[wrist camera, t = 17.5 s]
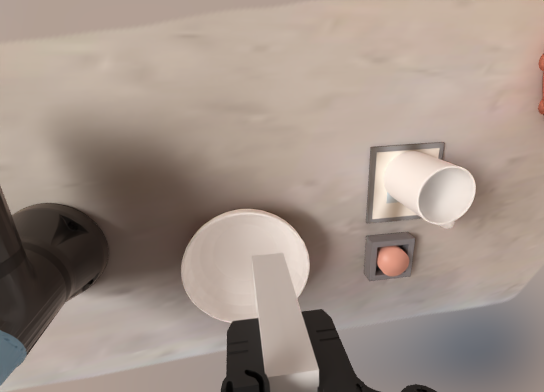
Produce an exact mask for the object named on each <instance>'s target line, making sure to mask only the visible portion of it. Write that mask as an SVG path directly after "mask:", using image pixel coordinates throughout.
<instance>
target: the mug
mask: <svg viewBox="0 0 544 392" xmlns="http://www.w3.org/2000/svg"><path fill="white" fill-rule="evenodd" d="M384 185H385V188H386V190H387V192H388V193H389V194H390V195H391V196H392V197H393V198H394V199H396V200H397V201H398V202H400V203H401V204H403V205H404V206H406V207H407V208H408V209H410V210H411V211H413V212H414V213H415V214H417V215H418V216H420V217H421V218H422V219H424V220H425V221H427V222H429V223H432V224H437V225H439V226H441V227H443V228H445V229H450V228H452V227H453V226H454V224H455V220H457V219H459V218H460V217H461V216H463V215H464V214H465V213H466V212H467V210H468V209H469V208H470V206H471V205H472V203H473V200H474V198H475V194H476V183H475V180H474V178H473V176H472V174H471V173H470V172H469V171H468V170H466V169H465V168H463V167H460V166H457V165H455V164H452V163H449V162H446V161H444V160H441V159H438V158H435V157H433V156H430V155H427V154H424V153H421V152H417V151H408V152H404V153H402V154H400V155H398V156H396V157H395V158H394V159H393V160H392V161H391V162H390V163H389V165H388V166H387V168H386V170H385V174H384Z"/></svg>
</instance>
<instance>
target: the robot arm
mask: <svg viewBox="0 0 544 392" xmlns="http://www.w3.org/2000/svg"><path fill="white" fill-rule="evenodd" d="M107 261H108V245H107V241H106V239H105V236H104V234H103V233H102V231H101V230H100V228H99V227H98V226H97V225H96V223H95V222H94V221H92V220H91V219H90V218H89V217H88V216H86V215H85V214H83V213H81V212H80V211H78V210H75V209H73V208H70V207H68V206H64V205H59V204H51V203H45V204H36V205H32V206H28V207H26V208H23V209H22V210H20V211H18V212H16V213H15V214H13V215H11V212H10V210H9V207H8V205H7V202H6V199H5V197H4V194H3V191H2V189H1V186H0V385H1V384H2V383H3V382H4V381H5V380H6V379H7V378H8V376H9V375H10V374H11V373H12V372H13V371H14V369H15V368H16V367H18V366H19V365H20V364H21V363H22V362H23V361H24V359H25V358H26V356H27V354H28V353H29V352H30V350H31V349H32V348H33V346H34V345H35V343H36V342H37V341H38V339H39V338H40V336H41V335H42V334H43V332H44V331H45V330H46V328H47V327H48V325H49V324H50V323H51V321H52V320H53V318H54V317H55V316H56V314H57V313H58V312H59V310H60V309H61V307H62V306H63V305H64V303H65V302H67V301H68V300H70V299H72V298H73V297H75V296H77V295H78V294H80V293H82V292H83V291H85V290H86V289H88V288H89V287H90V286H92V285H93V284H94V283H95V282H96V280H97V279H98V278H99V276H100V275H101V273H102V272H103V270H104V269H105V267H106V264H107ZM252 266H253V280H254V293H255V305H256V314H257V318H253V319H245V320H237V321H232V323H231V325H230V327H229V329H228V331H227V373H226V374H227V376H226V378H225V379H224V381H223V383H222V387H221V392H379V391H376V390H373V389H371V388H369V387H367V386H366V385H365V384H364V382H362V381H361V380H360V379H358V377H357V376H356V374H355V373H354V371H353V368H352V366H351V363H350V361H349V359H348V356H347V354H346V352H345V349H344V347H343V345H342V342H341V340H340V339H339V335H338V333H337V330H336V328H335V326H334V323H333V321H332V319H331V317H330V316H329V315H328V314H327V313H326V312H324V311H323V310H322V309H320V310H312V311H304V312H301V310H300V306H299V303H298V300H297V296H296V293H295V290H294V287H293V283H292V280H291V277H290V274H289V270H288V267H287V264H286V261H285V257H284V254H283V253H276V254H267V255H257V256H252ZM401 392H436V391H435V390H433V389H431V388H428V387H426V386H423V385H417V384H415V385H410V386H407V387H406V388H404V389H403V390H402V391H401Z"/></svg>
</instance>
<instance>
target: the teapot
mask: <svg viewBox="0 0 544 392" xmlns="http://www.w3.org/2000/svg"><path fill="white" fill-rule="evenodd" d="M539 68H540V69H541V70H542V71H544V54H543V55H542V56H541V58H540V60H539ZM538 110H539V112H540V113H541V114H544V73H543V99H542V100H541V102H540V104H539V107H538Z"/></svg>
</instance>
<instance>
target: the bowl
mask: <svg viewBox="0 0 544 392" xmlns="http://www.w3.org/2000/svg"><path fill="white" fill-rule="evenodd" d="M276 253H283V254H284V257H285V261H286V264H287V267H288V270H289V274H290V277H291V280H292V283H293V287H294V290H295V293H296V296H297V298H298V297H299V296H300V294H301V293H302V291H303V289H304V287H305V285H306V283H307V280H308V276H309V270H310V260H309V254H308V250H307V248H306V246H305V243H304V241H303V240H302V238H301V237H300V236H299V234H298V233H297V231H296V230H295V229H294V228H293V227H292V226H291V225H290V224H289V223H288V222H287V221H285V220H283V219H282V218H280V217H278V216H277V215H274V214H271V213H269V212H266V211H263V210H256V209H237V210H233V211H228V212H226V213H223V214H221V215H219V216H216V217H214V218H213V219H211V220H210V221H208V222H207V223H205V224H204V225H203V226H202V227H201V228H200V229H199V230H198V231H197V232H196V233H195V234H194V236H193V237H192V239H191V241H190V242H189V244H188V246H187V247H186V250H185V253H184V255H183V258H182V264H181V278H182V283H183V286H184V289H185V292H186V293H187V295H188V296H189V298H190V300H191V301H192V302H193V303H194V304H195V305H196V306H197V307H198V308H199V309H200V310H201V311H203V312H204V313H206V314H207V315H209V316H211V317H213V318H216V319H218V320H221V321H225V322H229V323H232V321H237V320H245V319H253V318H257V314H256V305H255V293H254V280H253V266H252V256H257V255H267V254H276Z"/></svg>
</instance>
